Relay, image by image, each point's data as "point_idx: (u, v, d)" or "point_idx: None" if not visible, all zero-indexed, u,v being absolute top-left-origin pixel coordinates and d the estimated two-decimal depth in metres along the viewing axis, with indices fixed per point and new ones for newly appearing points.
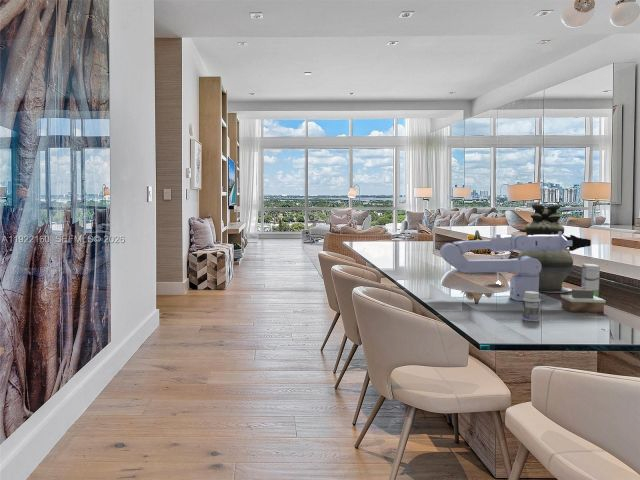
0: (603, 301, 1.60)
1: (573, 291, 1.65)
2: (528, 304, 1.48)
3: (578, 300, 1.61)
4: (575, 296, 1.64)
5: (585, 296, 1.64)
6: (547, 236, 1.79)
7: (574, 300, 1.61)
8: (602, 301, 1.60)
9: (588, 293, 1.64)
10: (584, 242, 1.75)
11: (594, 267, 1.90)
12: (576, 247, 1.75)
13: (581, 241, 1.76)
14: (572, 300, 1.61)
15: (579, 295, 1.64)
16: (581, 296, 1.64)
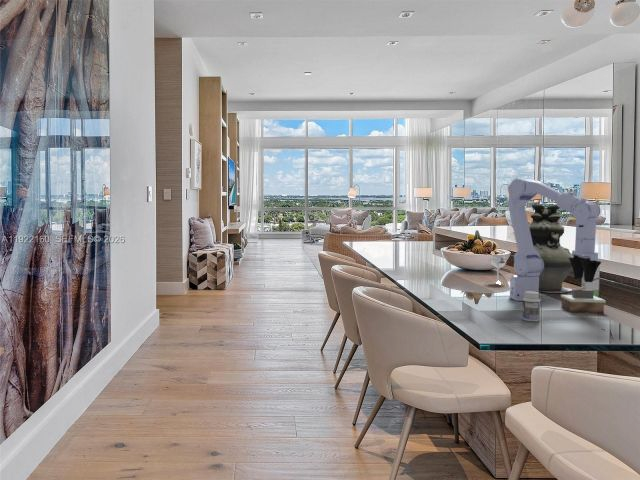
0: (603, 301, 1.60)
1: (573, 291, 1.65)
2: (528, 304, 1.48)
3: (578, 300, 1.61)
4: (575, 296, 1.64)
5: (585, 296, 1.64)
6: (594, 238, 1.62)
7: (574, 300, 1.61)
8: (602, 301, 1.60)
9: (588, 293, 1.64)
10: (590, 275, 1.60)
11: None
12: (586, 266, 1.59)
13: (591, 272, 1.60)
14: (572, 300, 1.61)
15: (579, 295, 1.64)
16: (581, 296, 1.64)
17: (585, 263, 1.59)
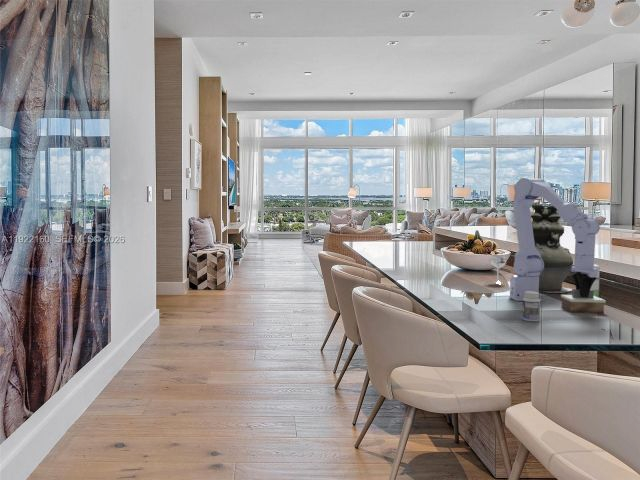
0: (603, 301, 1.60)
1: (573, 291, 1.65)
2: (528, 304, 1.48)
3: (578, 300, 1.61)
4: (575, 296, 1.64)
5: None
6: None
7: (574, 300, 1.61)
8: (602, 301, 1.60)
9: None
10: (585, 290, 1.63)
11: (594, 267, 1.90)
12: (582, 281, 1.62)
13: (586, 287, 1.63)
14: (572, 300, 1.61)
15: (579, 295, 1.64)
16: None
17: (581, 278, 1.62)
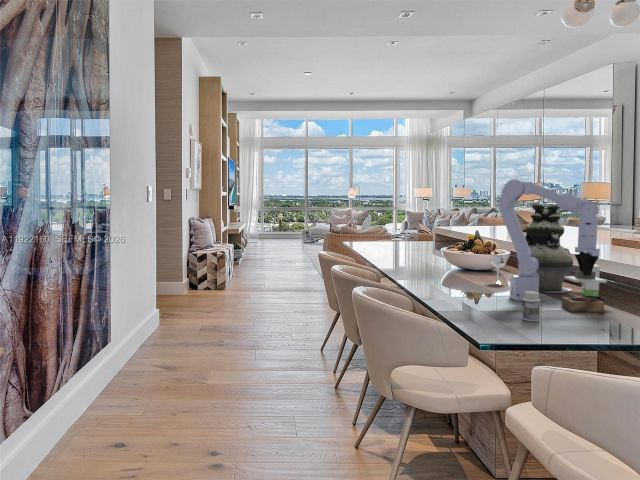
0: (604, 281, 1.70)
1: (576, 272, 1.74)
2: (528, 304, 1.48)
3: (581, 280, 1.70)
4: (578, 277, 1.73)
5: (587, 277, 1.73)
6: (596, 235, 1.71)
7: (577, 280, 1.70)
8: (603, 281, 1.70)
9: None
10: (588, 269, 1.72)
11: (594, 267, 1.90)
12: (585, 260, 1.71)
13: (589, 266, 1.72)
14: (575, 280, 1.70)
15: (582, 276, 1.73)
16: (584, 277, 1.73)
17: (584, 258, 1.71)
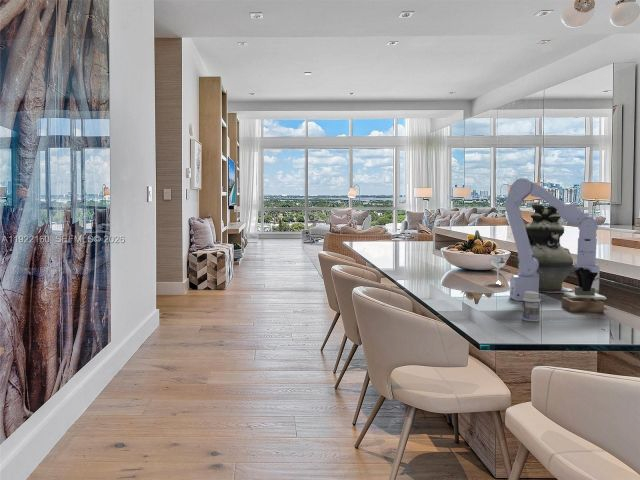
0: (604, 298, 1.70)
1: (575, 289, 1.75)
2: (528, 304, 1.48)
3: (580, 297, 1.71)
4: (578, 294, 1.74)
5: (587, 293, 1.74)
6: (595, 251, 1.72)
7: (576, 297, 1.71)
8: (603, 298, 1.70)
9: (590, 290, 1.74)
10: (587, 285, 1.73)
11: None
12: (584, 276, 1.71)
13: (589, 282, 1.73)
14: (575, 297, 1.71)
15: (581, 292, 1.74)
16: (583, 293, 1.74)
17: (583, 274, 1.71)
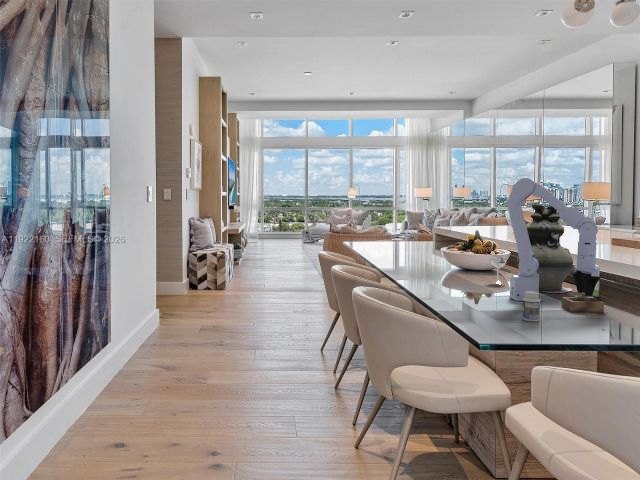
0: None
1: None
2: (528, 304, 1.48)
3: None
4: None
5: None
6: (595, 255, 1.72)
7: None
8: None
9: None
10: (589, 289, 1.71)
11: None
12: (586, 281, 1.70)
13: (591, 286, 1.71)
14: None
15: None
16: None
17: (585, 278, 1.69)
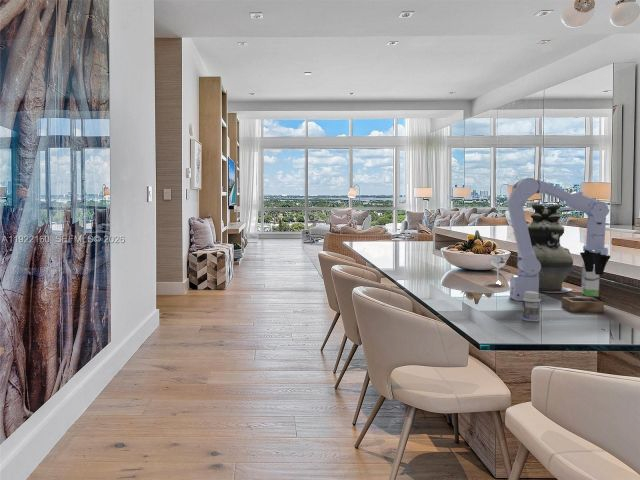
0: None
1: None
2: (528, 304, 1.48)
3: None
4: None
5: None
6: (604, 235, 1.76)
7: None
8: None
9: None
10: (600, 268, 1.74)
11: (594, 267, 1.90)
12: (597, 260, 1.73)
13: (601, 265, 1.74)
14: None
15: None
16: None
17: (596, 257, 1.73)
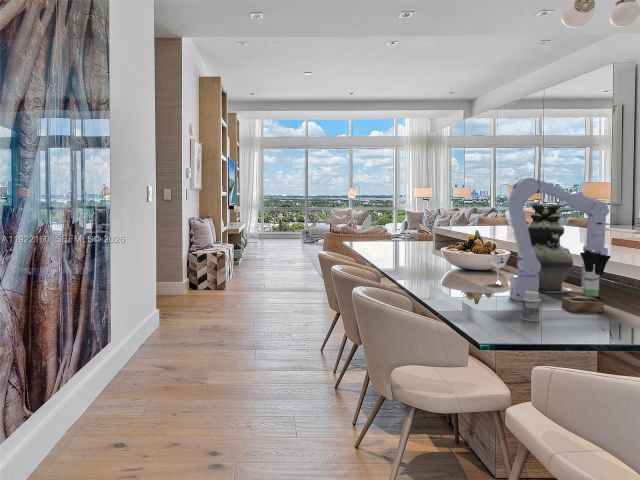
0: None
1: None
2: (528, 304, 1.48)
3: None
4: None
5: None
6: (604, 235, 1.76)
7: None
8: None
9: None
10: (600, 268, 1.74)
11: (594, 267, 1.90)
12: (597, 260, 1.73)
13: (601, 265, 1.74)
14: None
15: None
16: None
17: (596, 257, 1.73)
